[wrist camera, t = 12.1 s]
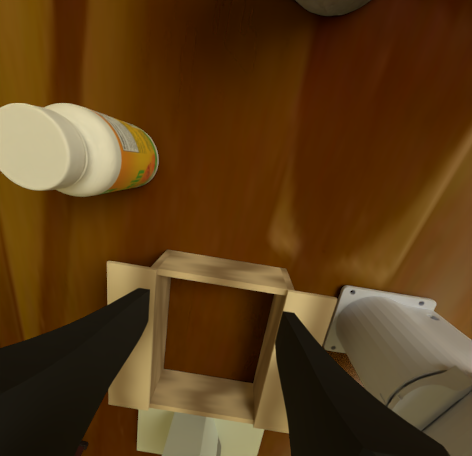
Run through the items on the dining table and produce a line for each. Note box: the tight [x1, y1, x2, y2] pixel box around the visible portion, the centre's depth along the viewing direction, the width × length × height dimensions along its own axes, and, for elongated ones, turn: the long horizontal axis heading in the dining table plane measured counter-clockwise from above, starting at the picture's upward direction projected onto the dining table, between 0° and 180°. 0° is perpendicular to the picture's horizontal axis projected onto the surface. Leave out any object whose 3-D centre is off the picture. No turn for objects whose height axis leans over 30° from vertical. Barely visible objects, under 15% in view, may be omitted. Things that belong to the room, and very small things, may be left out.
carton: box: [107, 250, 337, 433], centre depth 22 cm, size 19×16×4 cm
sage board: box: [137, 408, 264, 456], centre depth 28 cm, size 16×12×1 cm
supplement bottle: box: [0, 103, 159, 197], centre depth 15 cm, size 5×5×10 cm
